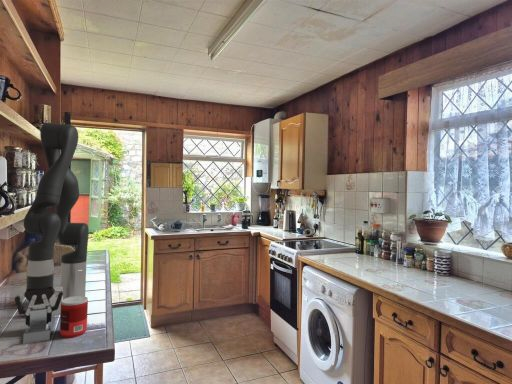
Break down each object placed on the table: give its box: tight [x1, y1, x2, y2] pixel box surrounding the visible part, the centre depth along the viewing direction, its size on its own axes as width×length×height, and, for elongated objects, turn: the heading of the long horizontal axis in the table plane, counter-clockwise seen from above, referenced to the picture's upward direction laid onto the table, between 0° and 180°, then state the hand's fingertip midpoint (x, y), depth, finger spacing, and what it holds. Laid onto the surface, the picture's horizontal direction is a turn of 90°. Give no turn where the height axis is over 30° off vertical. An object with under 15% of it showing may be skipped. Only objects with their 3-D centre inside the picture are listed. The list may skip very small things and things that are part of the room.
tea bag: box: [40, 286, 63, 317], centre depth 126 cm, size 4×7×10 cm, turn 115°
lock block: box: [28, 304, 48, 332], centre depth 111 cm, size 6×5×7 cm
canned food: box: [59, 296, 89, 339], centre depth 110 cm, size 8×8×11 cm
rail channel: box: [22, 325, 52, 345], centre depth 107 cm, size 9×7×3 cm
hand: (38, 324), depth 111 cm, fingers closed on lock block, 4 cm apart
